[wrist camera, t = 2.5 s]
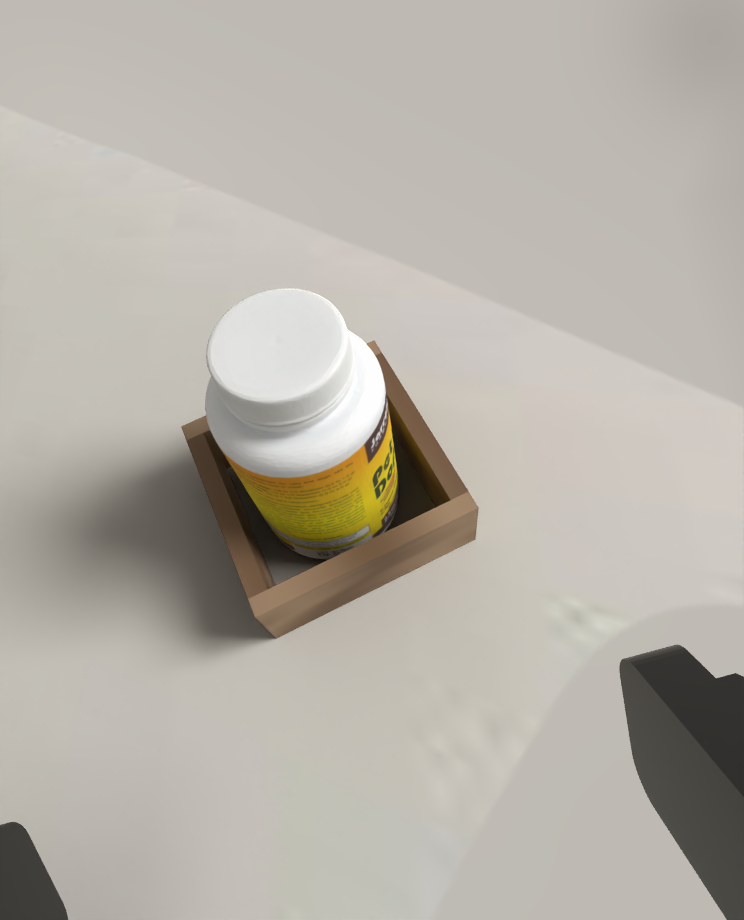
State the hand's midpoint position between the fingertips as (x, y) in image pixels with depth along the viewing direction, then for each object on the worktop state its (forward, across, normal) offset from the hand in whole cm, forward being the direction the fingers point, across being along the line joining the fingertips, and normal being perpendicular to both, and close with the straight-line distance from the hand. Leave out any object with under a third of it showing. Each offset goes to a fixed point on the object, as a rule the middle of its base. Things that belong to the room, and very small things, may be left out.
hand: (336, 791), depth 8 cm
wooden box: (+18, 0, +2) cm, 18 cm away
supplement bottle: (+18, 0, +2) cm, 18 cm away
